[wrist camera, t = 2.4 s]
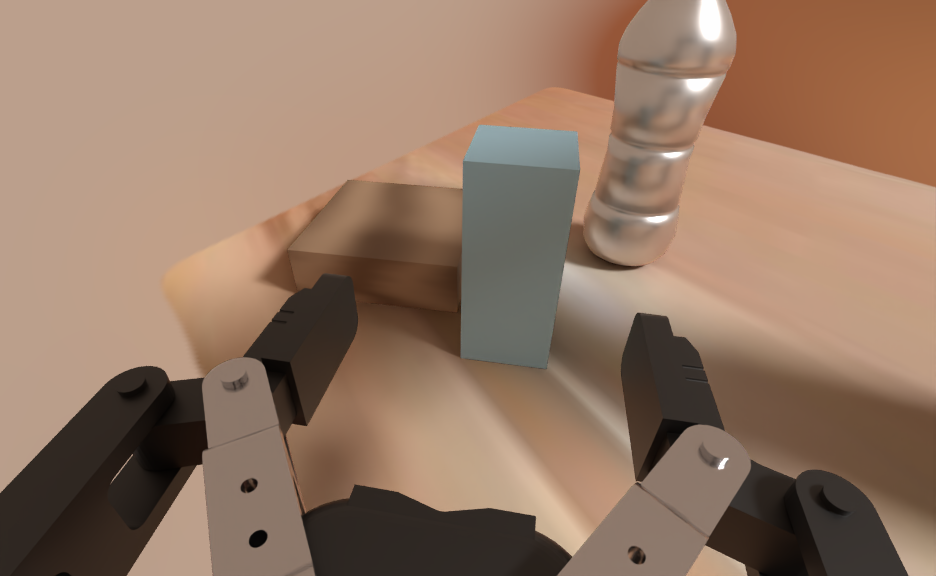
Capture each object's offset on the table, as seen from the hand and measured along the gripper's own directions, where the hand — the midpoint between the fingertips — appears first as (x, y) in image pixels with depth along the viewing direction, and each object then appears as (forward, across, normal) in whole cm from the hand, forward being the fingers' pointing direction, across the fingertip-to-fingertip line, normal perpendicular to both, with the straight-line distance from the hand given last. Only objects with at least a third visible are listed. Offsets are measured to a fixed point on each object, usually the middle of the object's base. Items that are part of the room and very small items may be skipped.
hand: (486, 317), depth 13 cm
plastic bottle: (+23, -8, +11) cm, 27 cm away
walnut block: (+19, +9, +11) cm, 24 cm away
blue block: (+12, 0, +11) cm, 16 cm away
